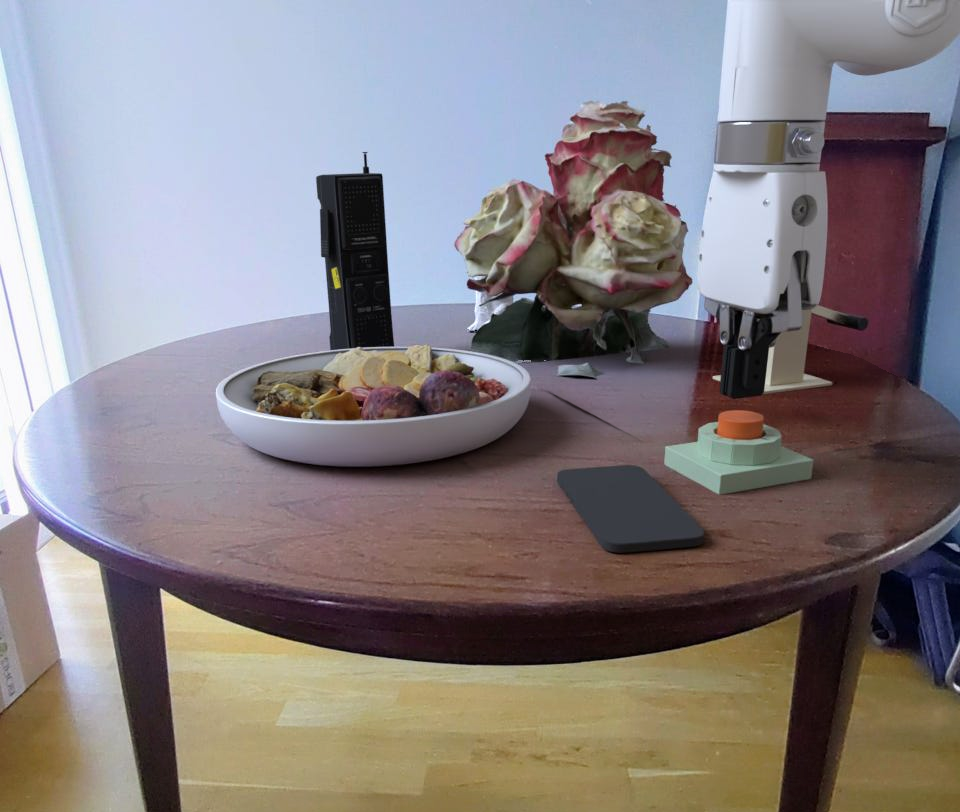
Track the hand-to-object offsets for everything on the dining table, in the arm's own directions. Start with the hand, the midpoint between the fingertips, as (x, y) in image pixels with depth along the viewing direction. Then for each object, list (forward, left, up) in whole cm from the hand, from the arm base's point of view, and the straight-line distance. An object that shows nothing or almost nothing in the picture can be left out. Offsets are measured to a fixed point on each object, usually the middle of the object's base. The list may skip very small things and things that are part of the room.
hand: (741, 394), depth 73 cm
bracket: (-20, -21, -7) cm, 30 cm away
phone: (+13, +4, -7) cm, 15 cm away
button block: (0, 0, -7) cm, 7 cm away
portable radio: (+18, -55, -7) cm, 58 cm away
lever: (-24, -21, +1) cm, 32 cm away
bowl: (+24, -25, -7) cm, 35 cm away
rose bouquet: (-8, -42, -7) cm, 43 cm away
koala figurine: (-5, -67, -7) cm, 67 cm away
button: (0, 0, -4) cm, 4 cm away
